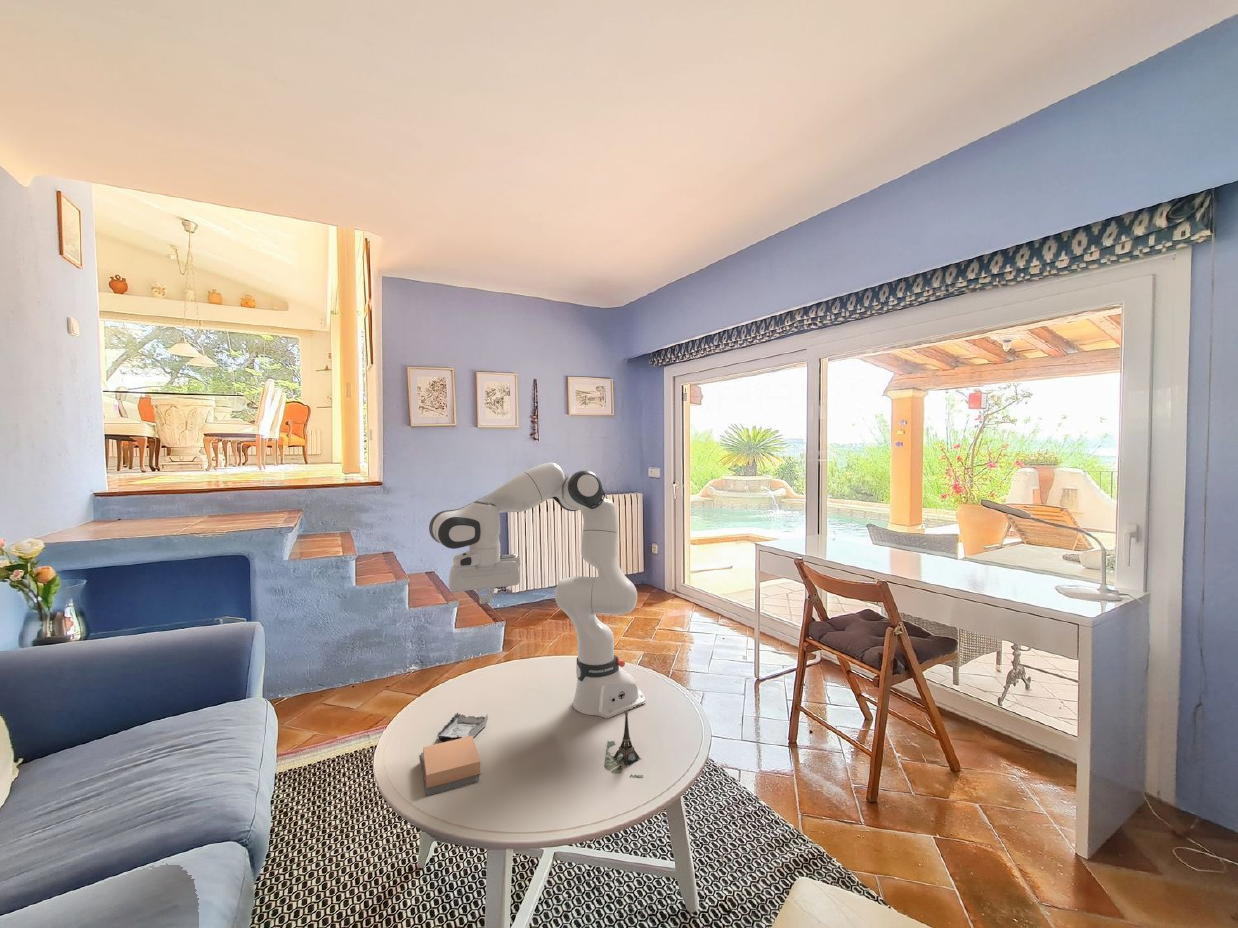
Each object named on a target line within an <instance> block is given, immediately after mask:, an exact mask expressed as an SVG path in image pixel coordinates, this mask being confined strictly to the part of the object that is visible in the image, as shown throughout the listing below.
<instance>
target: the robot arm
mask: <svg viewBox="0 0 1238 928" xmlns="http://www.w3.org/2000/svg"><path fill="white" fill-rule="evenodd" d="M549 499H553V500H554V501H555V502H557V504H558V505H559V506H560V507H561V509H563V510H565V511H568V512H578V511H580V512H581V515H582V519H583V526H582V534H581V535H582V537H581V550H580V553H581V557H582V559H583V560H584V561H585V562H586V563H587V564H589V565H590V566H592V567H594V568H596V570H597V573H598V575H597V576H579V575H578V576H577V575H576V576H570V577H569V576H568V577H563V578H562V579H561V580H559V581H558V583H557V586H556V587H555V589H554V599H555V603H556V605H557V607H558V609H560V610H561V611H563V612H564V614H566V616H567V617H568V618H569V619H570V621H571V623H572V625H573V627H574V629H575V632H576V639H577V657H576V667H575V670H576V671H575V672H576V678H577V679H576V687H575V693H574V697H573V702H572V707H573V708H574V710H575V711H577V712H579V713H581V714H585V715H590V716H598V717H602V718H605V719H609V718H612V717H614V716H617V715H620V714H623V713H625V712H626V708H627V711H629V710H628V709H630V710H632V709H634V708H633V707H635V706H637V705H640V706H642V705H641V704H643V703H644V702H645V703H646V696H645V695H644V693H643V692H642V691H641V690H640V689H639V688H638V685H637V681H636V680H635V677H633V676H632V675H631V674H630V673H629V672H628V671H626V670H624V669H623V667H625V665H626V662H625V660H623V659H622V658H620V657H618V656H617V655H615V653H614V650H615V648H614V647H615V646H614V645H615V643H614V642H615V641H614V639H615V637H614V633H613V631H612V629H611V628H610V627H609V626H608V625H607V624H606V623H604V622H602V621H601V620H599V618H598V617H597V615H607V616H618V615H625V614H631V613H632V612H633V610H634V609H635V607H636V605H637V603H638V591H637V588H636V585H635V584H634V583H633V582H632V581H631V580H630V579H629V578H628V577H627V576H626V575H625V574H624V572H623V571H622V569H621V566H620V564H619V561H618V560H619V559H618V548H617V547H618V514H617V508H616V504H615V503H614V502H613V501H612V500H610V499H609V498H606V493H605V491H604V489H603V483H602V482H601V479H600V477H599V476H598V475H597V474H596V473H595V472H593V471H591V470H579V471H577V472H574V473H573V474H571V475H568V474H566V473H565V472H564V471H563V469H562V468H561V467H560V465H558V464H557V463H556V462H550V461H549V462H545V463H542V464H539V465H536V466H534V467H532V468H529V469H527V470H525V471H523V472H522V473H520V474H518V475H516V476H514V477H513V478H511V479H509V481H507V482H505V483H504V484H502V485H501V486H499V487H498V488H496V489H495V490H494V491H492V492H490V493H488V494H487V495H485V496H483V497H481V498H478V499H477V500H475V501H471V502H470V503H468V504H467V505H464V506H463V507H462V506H461V507H460V508H457V509H449V510H448V509H447V510H443V511H440V512H437V513H436V514H435V515H434V516H433V517H432V519H430V521H429V526H428V531H429V534H430V536H431V538H432V540H434V541H435V542H436V543H439V544H440V545H442V546H444V547H446V548H447V549H451V550H452V549H453V550H454V549H455V550H456V549H460V548H465V547H469V550H467V551H463V552H461V553H459V554H456V555H454V556H453V559H452V562H453V564H452V566H451V568H450V571H449V577H448V589H449V590H450V591H451V592H452V593H457V592H465V591H475V593H476V594H477V596H478V598H479V605H484V604H491V603H492V599H491V598H492V597H493V595H494V593H495V589H496V588H501V587H502V588H503V587H512V586H518V585H519V584H520V581H521V575H520V566H521V558H520V557H519V555H516V554H515V553H510V554H501V542H500V534H501V517H500V516H501V515H500V513H501V514H502V513H522V512H525V511H528V510H531V509H533V508H535V507H537V506H539V505H540V504H543V503H544V502H546V501H548V500H549ZM485 589H488V591H489V592H488V594H487V595H485V596H483V595H481V593H482V592H483V591H482V590H485ZM643 705H644V704H643ZM635 708H636V707H635ZM624 711H625V712H624Z"/></svg>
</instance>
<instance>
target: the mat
mask: <svg viewBox="0 0 1238 928" xmlns="http://www.w3.org/2000/svg"><path fill="white" fill-rule="evenodd" d="M420 756H421V757H420V758H421V765H422V775H423V783H424V793H425V797H428V795H429V796H432V795H435V794H439V793H442V792H447V791H450V790H453V789H457V788H461V787H464V786H469V785H471V784H475V783H479V776H478V775H474V776H470V777H466V778H463V779H459V780H455V781H452V782H448V783H444V784H440V785H437V786H433V787H429V788H426V780H425V771H424V763H423V752H421V753H420Z"/></svg>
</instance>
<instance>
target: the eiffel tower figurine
mask: <svg viewBox="0 0 1238 928" xmlns="http://www.w3.org/2000/svg"><path fill="white" fill-rule="evenodd" d="M627 711H628V710H627V708H626V711H625V712H624V716H625V718H624V719H625V720H624V728H623V729H624V730H623V736H622V741H621V744H620V746H618V750H617V751H616V752H615V754H614V755H612V754H611V753H610V752H609V750H610V748H612V747H615V746H616V745H617V744H616V742H615V741H614V740H607V741H606V742H607V743H606V748H605V749H606V750H605V755H604V756H605V757H604V764H603V767H604V769H605V770H606V771H608V772H609V773H611V774H613V775H621V774H622V773H623V770H624V768H626V769H627V768H629V767H630V766H632V765H634V764H635V763H637V762H639V761H641V760H642V758H641V757H640V756H639V754H638V753H637V752H636V750H635V747H634V746H633V744H632V741H631V737H630V729H629V717H628V715H629V713H628V712H627ZM623 767H624V768H623ZM629 778H644V775H642V774H634V775H633V774H632V773H631V774H630V776H629Z"/></svg>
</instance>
